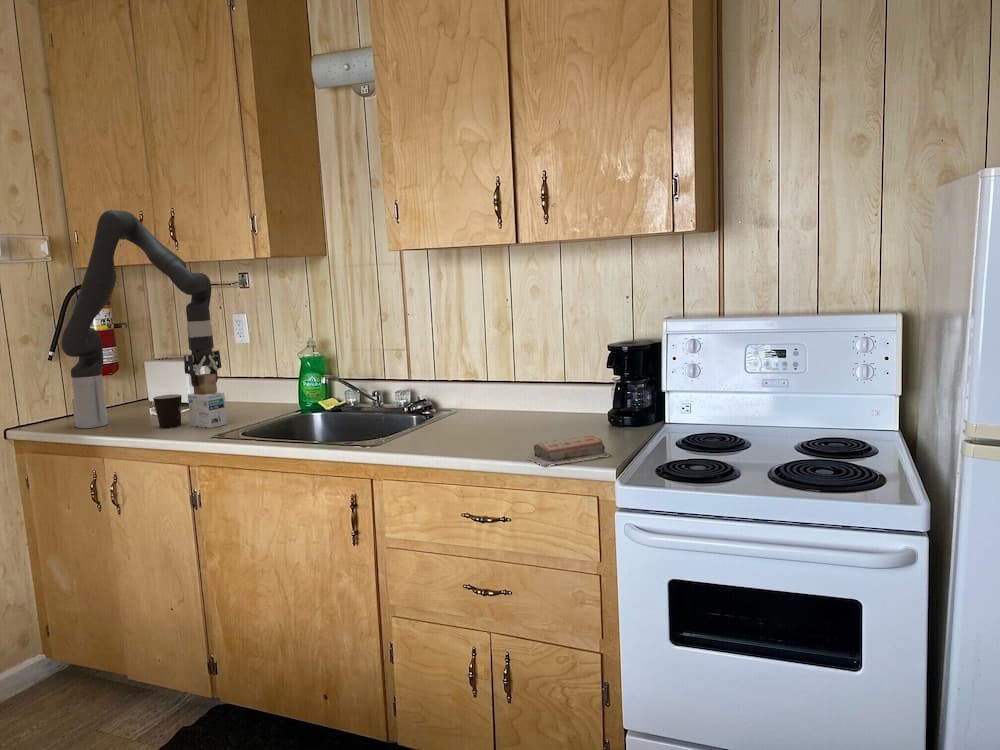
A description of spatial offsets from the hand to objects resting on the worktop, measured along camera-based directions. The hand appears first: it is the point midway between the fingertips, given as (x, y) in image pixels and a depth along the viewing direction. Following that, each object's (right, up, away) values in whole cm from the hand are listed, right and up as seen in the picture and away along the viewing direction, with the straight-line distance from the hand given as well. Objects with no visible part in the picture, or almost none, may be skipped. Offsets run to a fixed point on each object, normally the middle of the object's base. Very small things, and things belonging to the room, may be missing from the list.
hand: (205, 384), depth 250 cm
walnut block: (0, -3, 0) cm, 3 cm away
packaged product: (+113, -18, -63) cm, 130 cm away
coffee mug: (-12, -14, +5) cm, 19 cm away
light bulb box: (+1, -14, +2) cm, 14 cm away
